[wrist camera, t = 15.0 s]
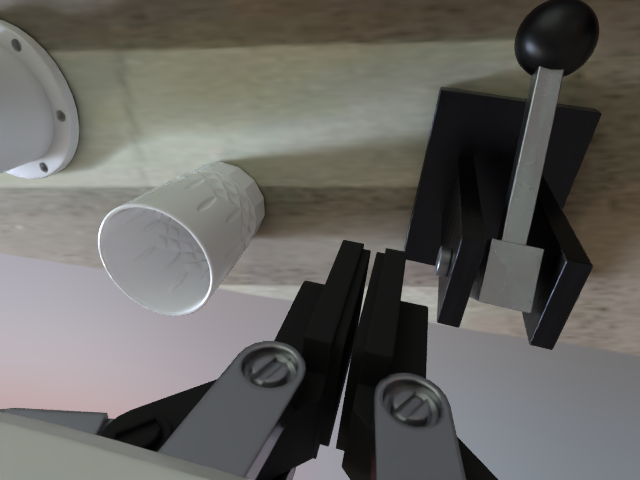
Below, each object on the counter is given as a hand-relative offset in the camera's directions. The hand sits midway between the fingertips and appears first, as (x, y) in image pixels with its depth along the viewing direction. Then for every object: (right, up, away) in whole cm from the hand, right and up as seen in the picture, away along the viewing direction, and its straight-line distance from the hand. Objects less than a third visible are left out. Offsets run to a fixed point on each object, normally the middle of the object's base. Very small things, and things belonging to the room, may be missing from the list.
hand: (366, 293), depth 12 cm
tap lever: (+9, +5, +10) cm, 14 cm away
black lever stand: (+10, +5, +18) cm, 21 cm away
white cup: (-9, +5, +24) cm, 26 cm away
